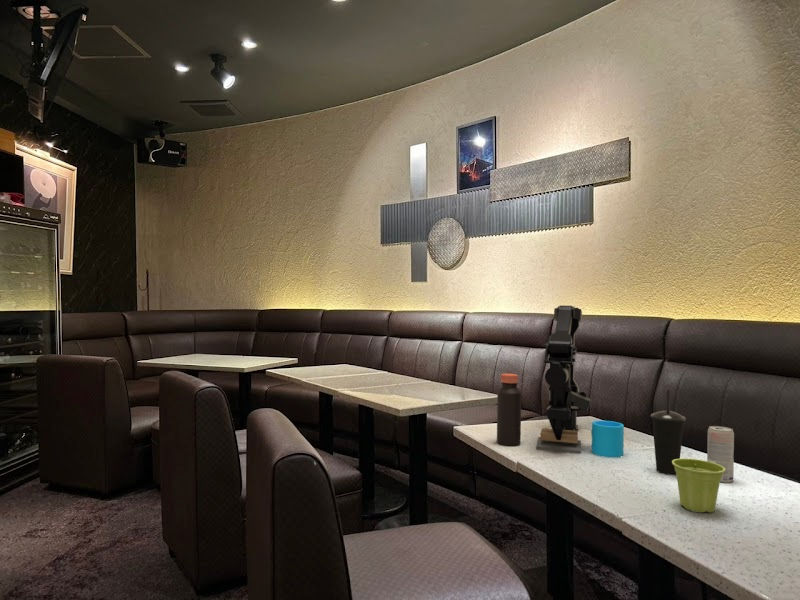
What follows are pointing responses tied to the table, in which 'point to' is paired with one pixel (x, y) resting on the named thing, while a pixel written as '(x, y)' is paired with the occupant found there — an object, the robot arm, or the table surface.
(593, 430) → the blue cup
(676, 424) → the drinking cup
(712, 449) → the energy drink
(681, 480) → the plant pot
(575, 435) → the walnut lid
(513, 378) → the bottle
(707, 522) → the table surface
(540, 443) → the rubber mat
